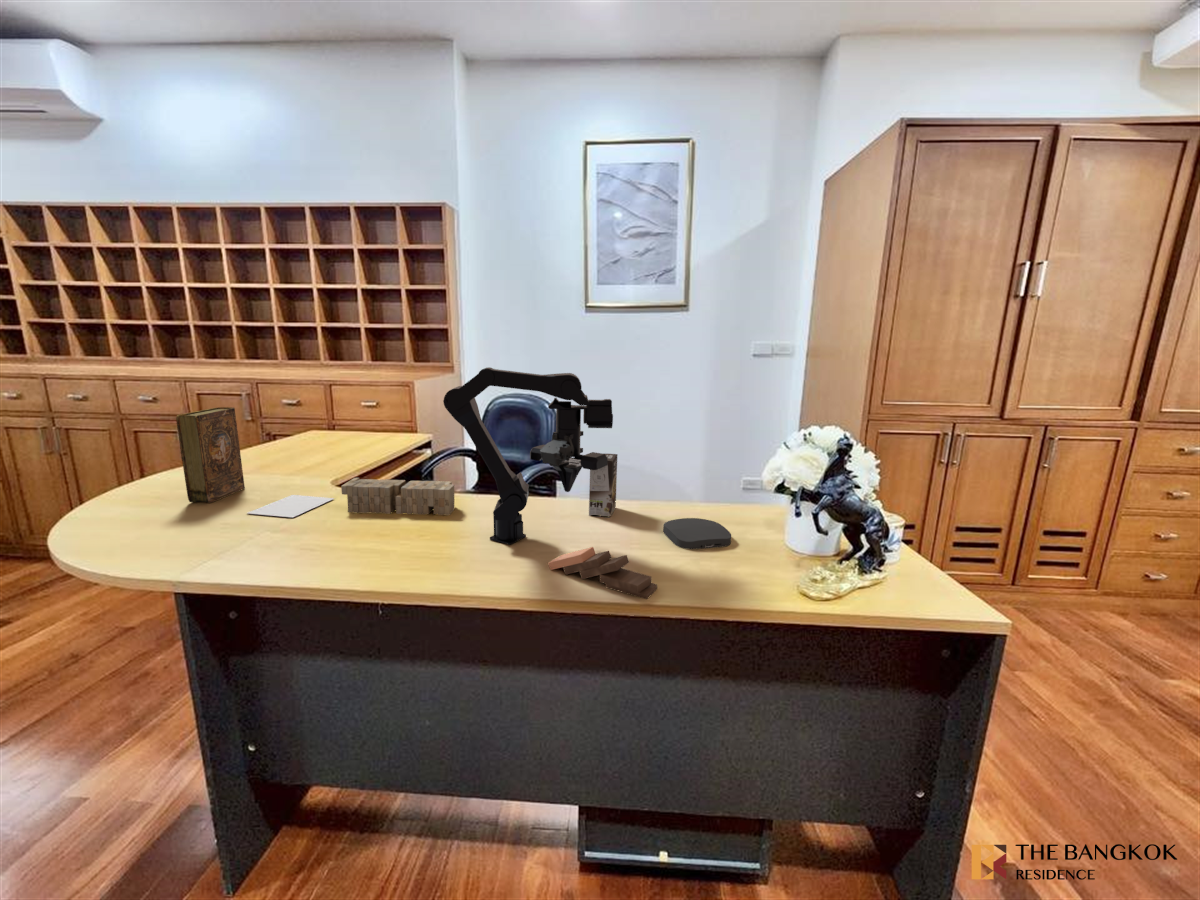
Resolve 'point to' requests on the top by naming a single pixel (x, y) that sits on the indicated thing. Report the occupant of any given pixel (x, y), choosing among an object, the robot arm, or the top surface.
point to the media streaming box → (696, 533)
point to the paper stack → (291, 506)
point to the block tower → (399, 496)
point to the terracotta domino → (571, 558)
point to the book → (210, 453)
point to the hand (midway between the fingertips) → (567, 491)
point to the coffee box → (603, 488)
